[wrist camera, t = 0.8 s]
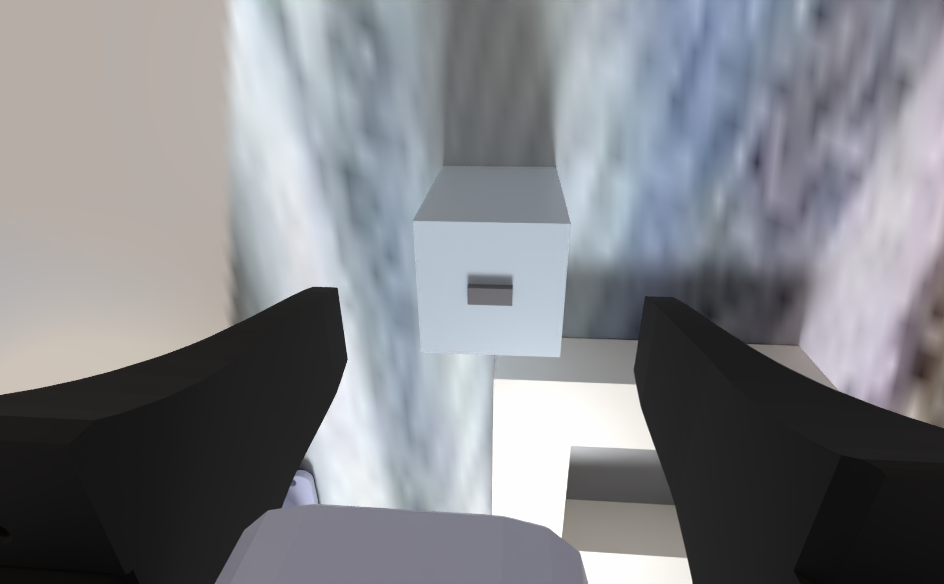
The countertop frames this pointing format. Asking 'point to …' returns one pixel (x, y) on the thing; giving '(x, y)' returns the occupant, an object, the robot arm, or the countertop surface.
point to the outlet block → (593, 457)
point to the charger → (492, 261)
